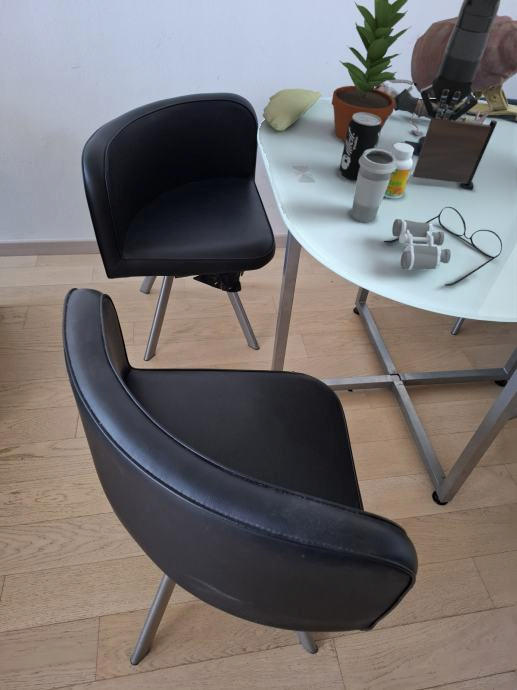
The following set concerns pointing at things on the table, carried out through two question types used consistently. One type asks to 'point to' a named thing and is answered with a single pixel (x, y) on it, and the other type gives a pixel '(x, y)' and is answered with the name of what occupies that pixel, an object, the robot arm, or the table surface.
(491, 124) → the upright peg on plate
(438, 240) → the binoculars
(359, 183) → the cup
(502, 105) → the sandal
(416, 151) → the doorbell
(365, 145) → the beverage can
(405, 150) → the supplement bottle
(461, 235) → the glasses
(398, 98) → the toy
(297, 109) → the dumpling
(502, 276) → the table surface
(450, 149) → the door
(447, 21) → the sculpture
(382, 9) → the potted plant
